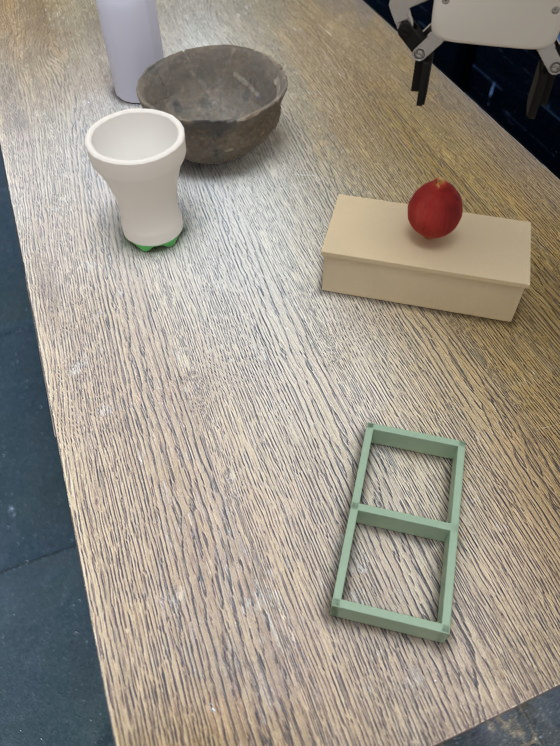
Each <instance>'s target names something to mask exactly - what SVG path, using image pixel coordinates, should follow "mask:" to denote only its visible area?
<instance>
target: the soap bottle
mask: <svg viewBox="0 0 560 746" xmlns="http://www.w3.org/2000/svg"><path fill="white" fill-rule="evenodd" d="M94 1H95V5H96V10H97V15H98V19H99V24H100V28H101V33H102V39H103V42H104V46H105V52H106V56H107V61H108V64H109V70H110V75H111V79H112V84H113V88H114V92H115V94H116V97H118V98H119V99H120V100H122V101H124V102H126V103H131V104H141V103H140V101H139V99H138V97H137V92H136V87H137V83H138V80H139V78H140V77H141V76H142V74H143V72H144V71H145V70H146V68H147V67H149V66H150V65H152V64H154V63H156V62H157V61H159V60H161V59H163V58H165V54H164V47H163V41H162V34H161V27H160V21H159V14H158V8H157V0H94Z"/></svg>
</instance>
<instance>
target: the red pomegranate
mask: <svg viewBox="0 0 560 746" xmlns="http://www.w3.org/2000/svg"><path fill="white" fill-rule="evenodd" d="M407 204H408V220H409V223H410V225H411V226H412V228H413V229H414V230H415V231H416V232H417V233H419V234H421V235H422V236H424V237H425V238H426V239H435V238H441V237H444V236H446V235H448V234H449V233H451V232H452V231H453V230H454V229H455V228H456V227H457V225H458V223H459V222H460V220H461V217H462V213H463V212H464V208H463V207H464V206H463V198H462V195H461V193H460V192H459V191H458V190H457V188H456V187H455V186H454V184H452V183H451V182H449V181H448V180H447V179H445V177H444V176H437V177H435V178H433V180H430V181H428V182H425V183H424V184H422V185H421V186H419V187H418V188H417V189H416V190H415V191H414V193H413V194H412V196H411V198H410V199H409V201H408V203H407Z"/></svg>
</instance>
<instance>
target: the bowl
mask: <svg viewBox="0 0 560 746" xmlns="http://www.w3.org/2000/svg"><path fill="white" fill-rule="evenodd" d="M288 81H289V80H288V76H287V75H286V70H284V67H283V66H282V64H280V63H279V62H277V60H275V59H274V58H273V57H272V56H271V55H268V54H266V53H264V52H262V51H259V50H256V49H254V48H250V47H246V46H242V45H241V46H240V45H235V44H225V43H224V44H212V45H203V46H196V47H193V48H185V49H184V51H183V50H179V51H177V52H175V53H171V54H169V55H167V56H164V58H163V59H161V60H159V61H157V62H156V63H154V64H152V65H150V66H149V67H147V68H146V70H145V71H144V72H143V74H142V76H141V77H140V78H139V80H138V83H137V87H136V92H137V97H138V99H139V101H140V103H139V104H140V105H141V107H142V108H143V109H154V110H159V111H163V112H166V113H168V114H171V115H173V116H174V117H175V118H177V119H178V120H179V121H180V122H181V124H182V126H183V127H184V133H185V143H186V154H185V158H184V160H187V161H189V162H193V163H195V164H196V163H197V164H201V165H220V164H221V165H222V164H226V163H230V162H233V161H235V160H238V159H240V158H243V157H244V156H246V155H248V154H250V153H251V152H253V151H254V150H255V149H257V148H258V147H259V146H260V145H261V144H263V143H265V141H266V140H267V139H268V138H269V137H270V136H271V134H272V133H273V132H274V130H275V129H277V126H278V124H279V121H280V118H281V115H282V111H281V110H282V101H283V100H284V98H285V96H286V93H287V91H288V85H289V82H288Z"/></svg>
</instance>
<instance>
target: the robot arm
mask: <svg viewBox="0 0 560 746" xmlns="http://www.w3.org/2000/svg"><path fill="white" fill-rule="evenodd" d="M427 1H428V0H389V3H388V7H389V11H390V14H391V16H392V18H393V21H394V24H395V26H396V29H397V35H398V36H399V39H401V41H403V43H404V44H405V45H406V47H407V48H408V50H409V51H410V52H411V53H412V54H411V55H412V58H413V60H414V65H413V66H414V67H413V73H412V81H411V86H410V92H417V96H416V97H417V98H416V105H415V107H422V106H425V103H426V99H427V95H428V91H429V90H428V89H429V85H430V78H431V72H432V66H433V61H434V56H435V55H434V54H435V50H436V49H437V48H439V47H440V46H441V45H442V44H443V43H444V42H451V43H457V44H466V45H467V44H468V45H478V46H485V47H486V46H487V47H495V48H497V47H499V48H509V49H519V50H521V49H522V50H536V51H537V52H538V55H539V57H540V58H541V60H540V59H539V60H538V62H537V65H536V69H535V72H534V75H533V79H532V83H531V86H530V89H529V92H528V95H527V99H526V117H527V118H528V119H530V120H535V119H536V117H537V115H538V111H539V107H540V106H545V107H546V106H547V104H548V103H549V102H548V101H549V99H550V95H551V92H552V89H553V87H554V83H555V81H556V78H557V75H560V40H559V39H558V37H559V35H560V0H433V4H432V12H431V22H430V23H429V24H428V25H427V26H426V27H425V28H424V29H422V28H421V26H420V25H419V24H418V23H417V22H416V19H414V17H413V16H412V12H411V8H413V7H415V6H418V5H420V4H423V3H425V2H427Z"/></svg>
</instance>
